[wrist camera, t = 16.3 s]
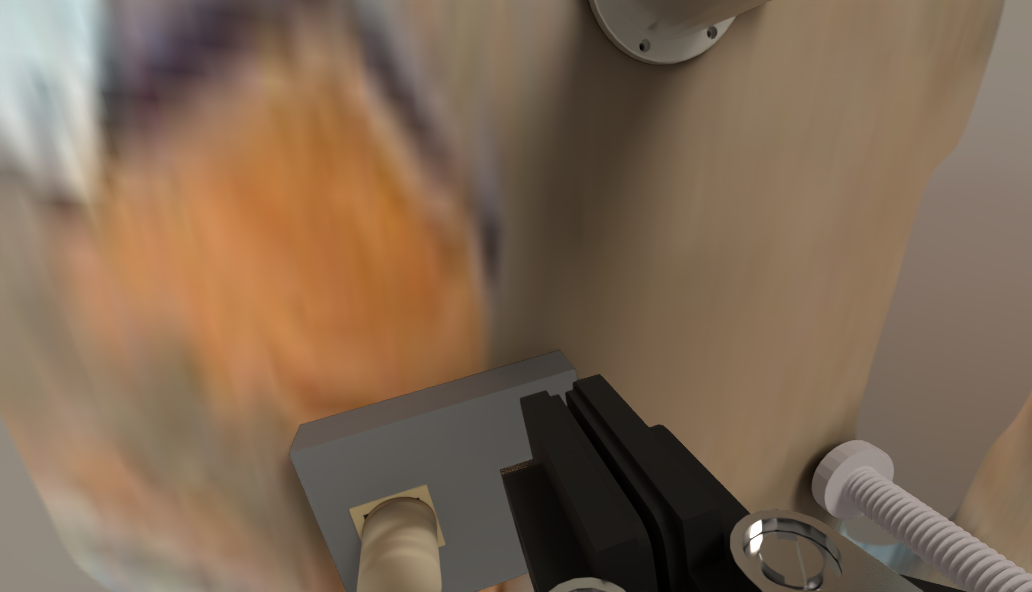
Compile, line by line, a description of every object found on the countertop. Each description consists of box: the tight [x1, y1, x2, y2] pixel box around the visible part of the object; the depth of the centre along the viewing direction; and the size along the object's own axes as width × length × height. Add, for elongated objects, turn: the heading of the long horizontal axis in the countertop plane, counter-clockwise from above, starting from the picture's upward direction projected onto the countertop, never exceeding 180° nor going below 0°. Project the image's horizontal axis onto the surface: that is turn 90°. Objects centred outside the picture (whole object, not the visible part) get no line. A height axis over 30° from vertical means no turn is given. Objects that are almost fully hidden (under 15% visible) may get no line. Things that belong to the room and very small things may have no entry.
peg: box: [357, 497, 442, 592], centre depth 37 cm, size 6×6×10 cm
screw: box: [812, 440, 1032, 592], centre depth 44 cm, size 8×8×20 cm
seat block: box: [289, 350, 578, 592], centre depth 41 cm, size 22×18×4 cm
